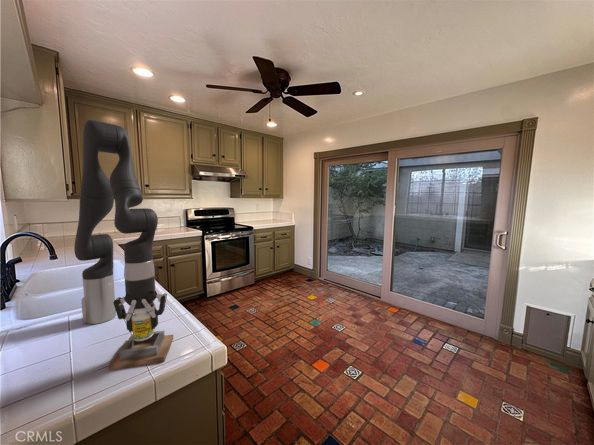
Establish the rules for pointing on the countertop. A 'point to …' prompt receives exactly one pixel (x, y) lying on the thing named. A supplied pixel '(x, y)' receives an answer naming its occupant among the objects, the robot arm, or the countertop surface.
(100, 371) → the countertop surface
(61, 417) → the countertop surface
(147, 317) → the supplement bottle
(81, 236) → the robot arm
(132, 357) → the socket stand
